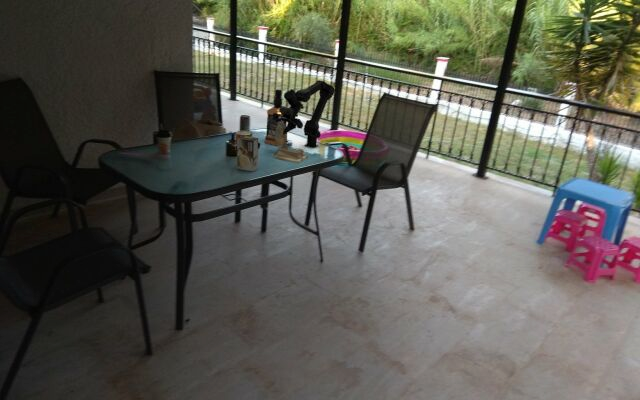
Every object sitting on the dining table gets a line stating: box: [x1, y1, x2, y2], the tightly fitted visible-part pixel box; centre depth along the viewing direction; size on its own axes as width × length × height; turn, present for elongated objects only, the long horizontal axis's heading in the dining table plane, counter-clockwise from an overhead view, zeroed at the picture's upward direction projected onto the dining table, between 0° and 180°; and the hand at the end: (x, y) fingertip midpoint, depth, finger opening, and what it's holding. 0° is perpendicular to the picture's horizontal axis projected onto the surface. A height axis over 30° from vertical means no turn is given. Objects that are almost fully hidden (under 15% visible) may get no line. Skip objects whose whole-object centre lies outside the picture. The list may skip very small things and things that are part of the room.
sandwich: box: [272, 145, 309, 164], centre depth 251 cm, size 13×15×5 cm
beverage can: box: [235, 130, 253, 145], centre depth 249 cm, size 9×9×12 cm
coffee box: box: [236, 136, 259, 173], centre depth 227 cm, size 9×6×16 cm
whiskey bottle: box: [264, 89, 288, 147], centre depth 270 cm, size 10×10×32 cm
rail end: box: [275, 122, 288, 147], centre depth 249 cm, size 5×4×12 cm
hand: (280, 133), depth 248 cm, fingers closed on rail end, 4 cm apart
